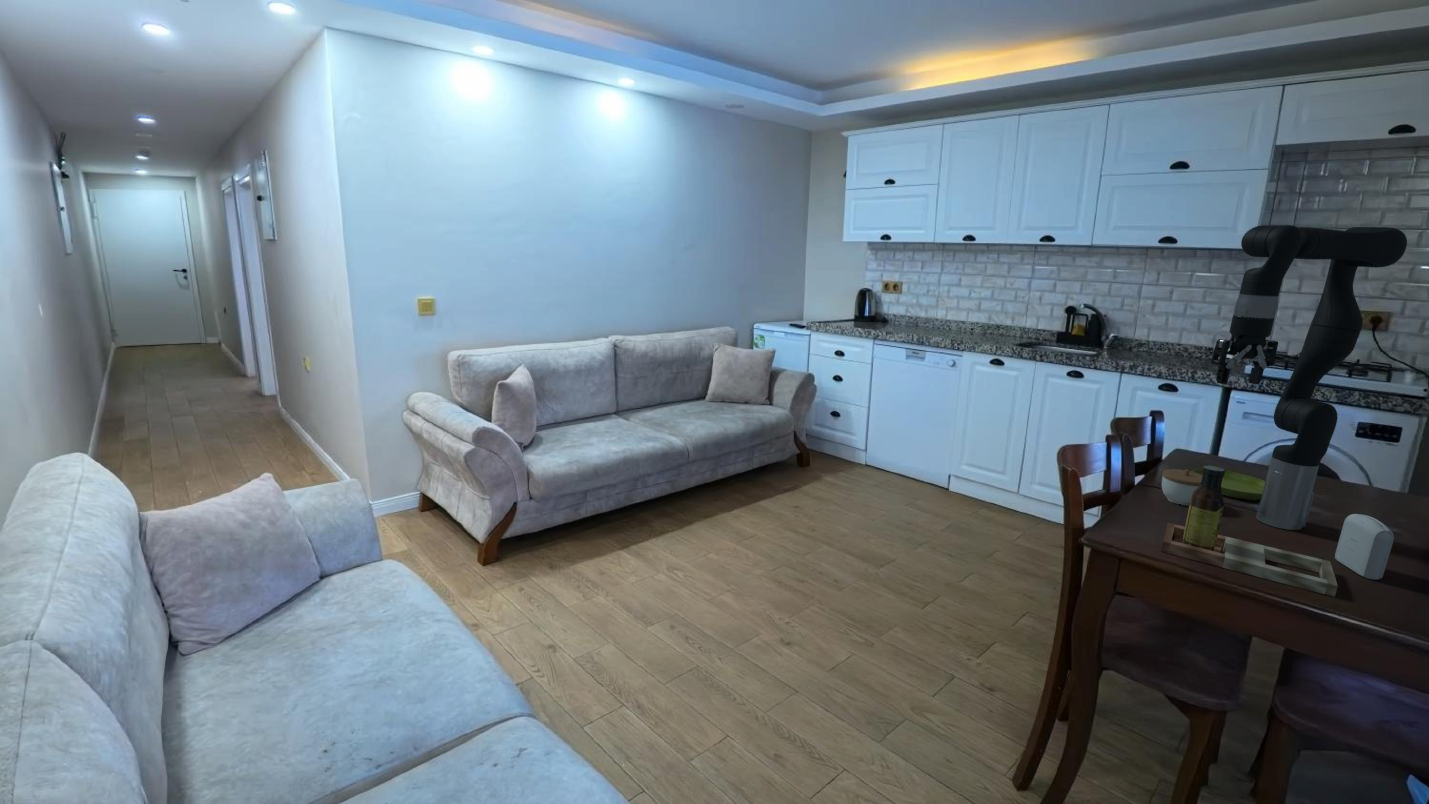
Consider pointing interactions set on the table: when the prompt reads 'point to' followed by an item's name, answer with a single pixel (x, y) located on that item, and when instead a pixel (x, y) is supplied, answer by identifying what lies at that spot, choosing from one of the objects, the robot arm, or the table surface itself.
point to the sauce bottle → (1205, 510)
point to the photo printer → (1364, 545)
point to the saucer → (1240, 485)
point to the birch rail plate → (1255, 560)
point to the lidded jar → (1180, 485)
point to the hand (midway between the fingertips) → (1237, 383)
